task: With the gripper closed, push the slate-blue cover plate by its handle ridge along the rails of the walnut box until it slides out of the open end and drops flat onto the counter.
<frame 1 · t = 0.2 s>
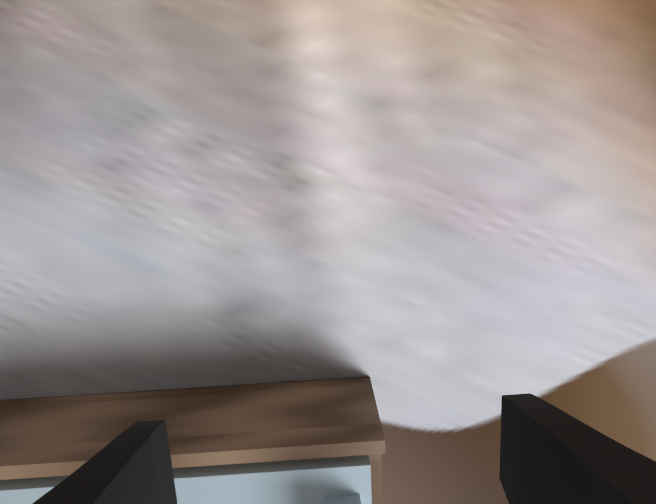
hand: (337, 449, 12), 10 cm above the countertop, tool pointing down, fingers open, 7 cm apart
walnut box: (185, 495, 23), on the countertop
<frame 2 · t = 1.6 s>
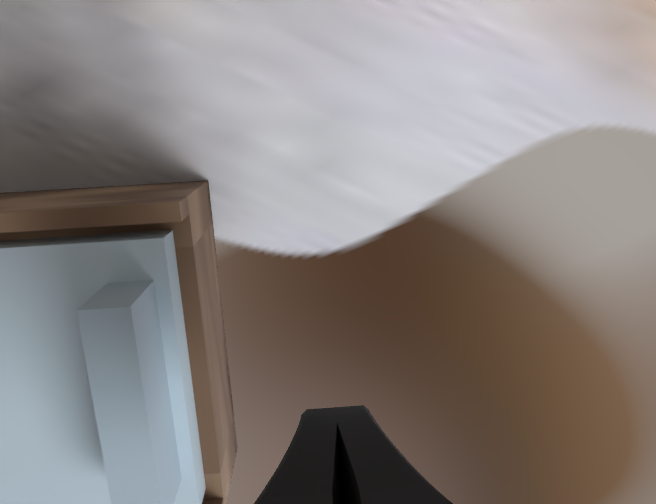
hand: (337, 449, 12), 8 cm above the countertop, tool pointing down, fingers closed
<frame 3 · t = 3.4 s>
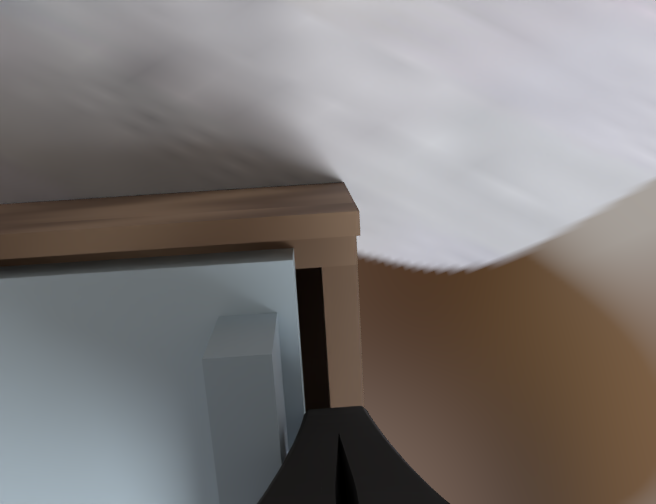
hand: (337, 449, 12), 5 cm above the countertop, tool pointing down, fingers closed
walnut box: (81, 368, 16), on the countertop
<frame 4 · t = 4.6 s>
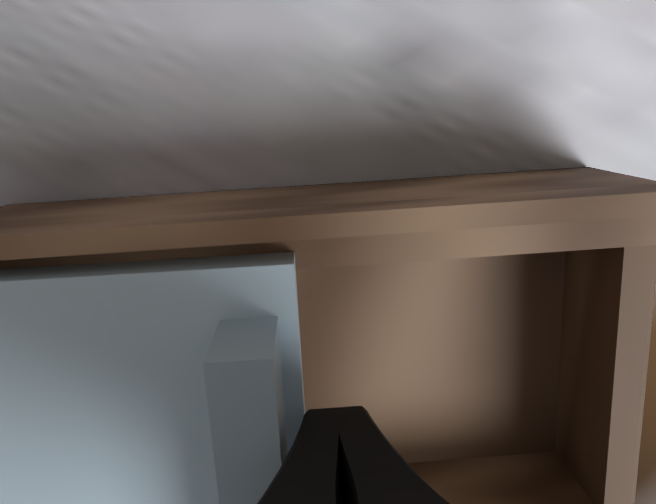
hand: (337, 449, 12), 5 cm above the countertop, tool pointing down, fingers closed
walnut box: (313, 352, 16), on the countertop
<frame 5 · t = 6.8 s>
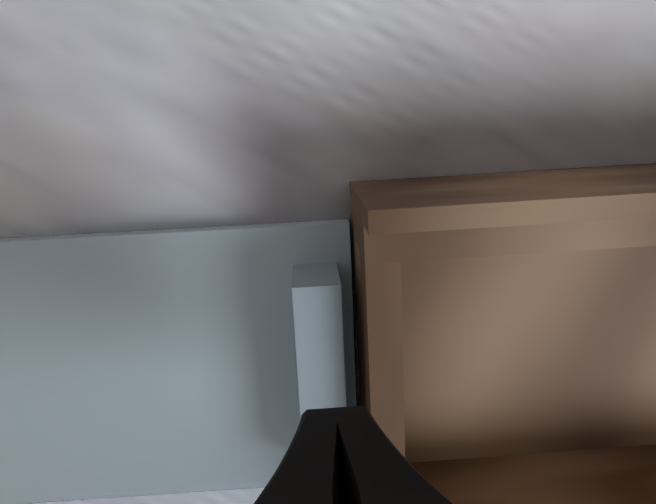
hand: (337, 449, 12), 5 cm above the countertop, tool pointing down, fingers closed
cover plate: (107, 360, 17), on the countertop
walnut box: (620, 330, 17), on the countertop
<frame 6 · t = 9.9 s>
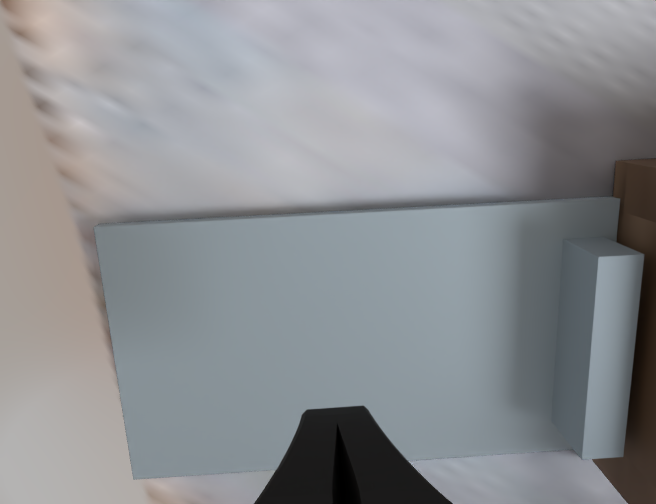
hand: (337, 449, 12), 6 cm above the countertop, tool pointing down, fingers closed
cover plate: (361, 332, 18), on the countertop
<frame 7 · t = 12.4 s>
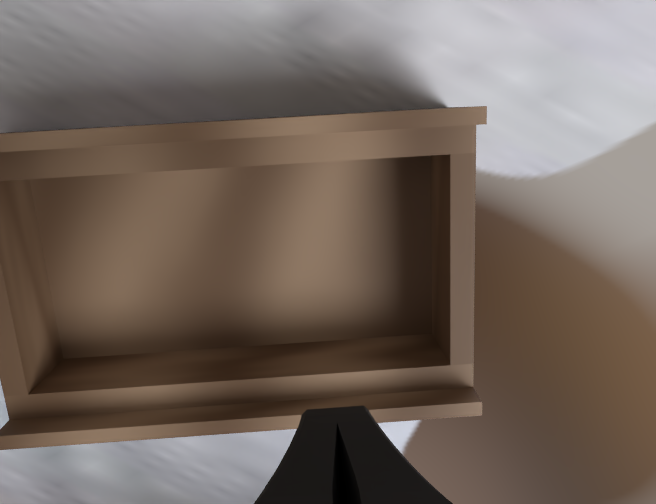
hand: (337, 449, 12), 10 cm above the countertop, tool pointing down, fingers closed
walnut box: (242, 253, 21), on the countertop
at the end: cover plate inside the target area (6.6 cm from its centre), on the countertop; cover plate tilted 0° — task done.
